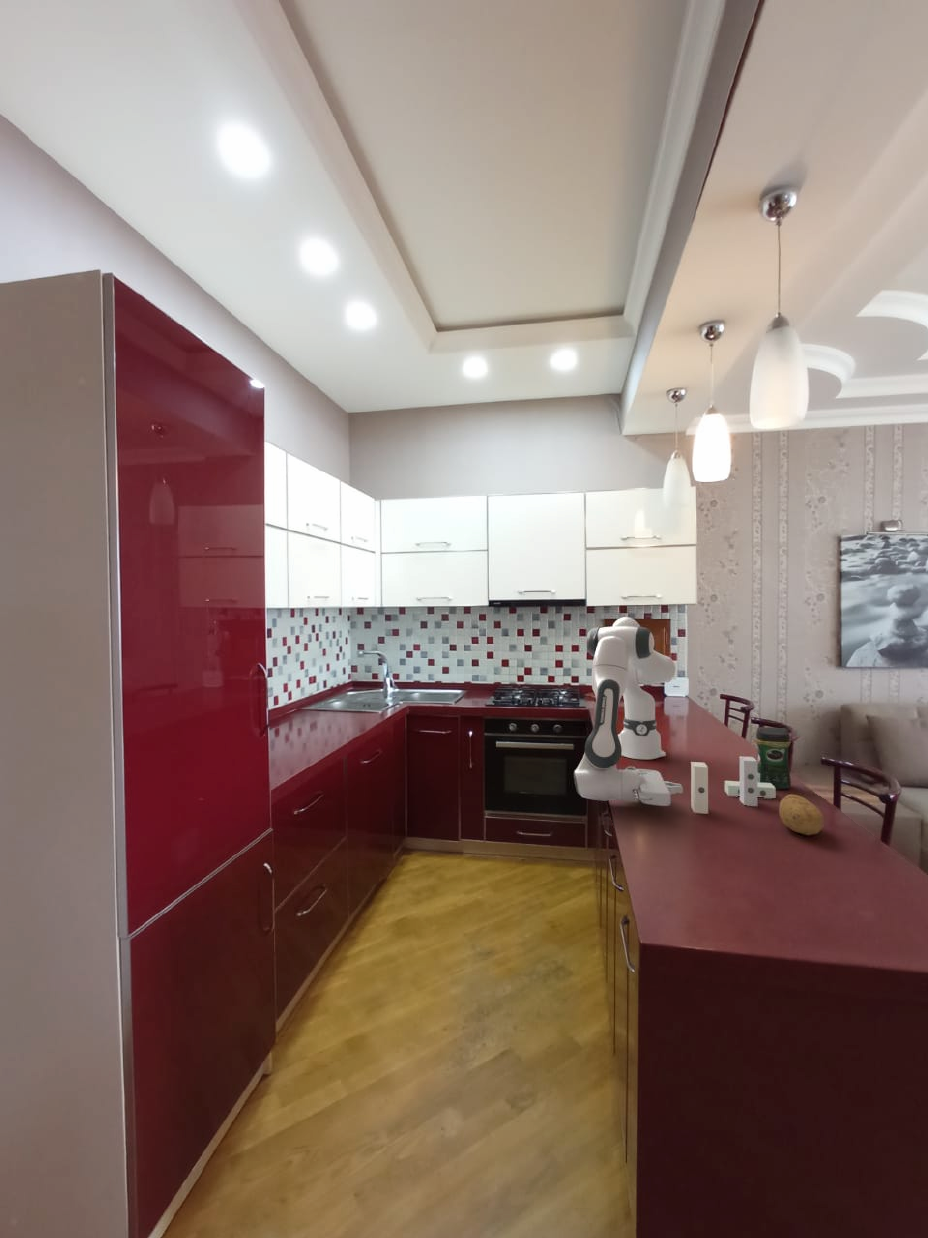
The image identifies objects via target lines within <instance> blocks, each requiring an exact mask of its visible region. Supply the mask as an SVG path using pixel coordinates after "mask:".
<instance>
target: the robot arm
mask: <svg viewBox="0 0 928 1238" xmlns="http://www.w3.org/2000/svg"><path fill="white" fill-rule="evenodd" d="M585 640H586V641H585V642H586V643H585V645H586V649H587V653H589V655H591V657H593V660H592V661H593V662H592V667H591V688H592V691H593V692H594V696H595V702H596V703H595V704H596V705H595V713H594V714H595V715H594V723H593V727H592V731H591V732H590V734H589V736H588V737H587V739H586V740H585V743H584V754H583V756H582V759H581V760H580V762H579V764H578V766H577V767H576V769H575V770H574V771H573V778H574V784H575V788H576V792H577V793H578V795H579V796H581V798H585V799H589V800H594V801H611V800H614V801H618V802H629V803H639V801H641V803H643V804H645V805H650V806H651V805H653V806H661V807H668V806H670V805H671V795H675V794H683V793H684V787H683V786H682V784H681V783H676V782H675V783H674V782H672V781H666V780H664V778H663V776H662V774H661V771H658V770H655V769H648V768H647V769H646V768H636V767H635V766H627V767H626V768H624V769H619V768H617V763H618V762H620V760H621V757H626V758H629V759H633V760H634V759H635V760H654V759H655V760H656V759H658V758H661V757H666V756H667V754H666V752H665V750H663V749H662V743H661V742H662V741H661V740H662V739H661V738H662V737H661V733H659V731H657V719H656V701H655V698H654V697H653V695H652V694H650V693H649V692H647V691H645V690H643V689H642V688H641V687H640V684H642V683H644V684H663V683H664V684H665V683H669V682H671V681H672V679H674V677H675V675H676V665H675V662H674V661H673V659H672V658H671V657H670V656H668V655H664V654H662V653H660V652H658V651H656V649H654V647H655V637H654V635H653V632H652V631H651V630H650V629H649V628H648V627H643V626H641V625H640V624H639V622H637V620H635V619H634V618H633V617H629V616H624V617H620V618H618V619H616V620H615V621H614V622H613V623H612V626H604V627H602V626H597V627H593V628H591V629H590V630H589V631H588V633H587V636H586V639H585ZM639 683H640V684H639ZM622 697H623V705H624V717H623V729H622V730H621V732H620V733H619V734H618V732H617V730H618V729H617V726H618V714H619V713H618V712H619V704H620V701H621V699H622Z"/></svg>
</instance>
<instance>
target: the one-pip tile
mask: <svg viewBox="0 0 928 1238" xmlns="http://www.w3.org/2000/svg"><path fill="white" fill-rule="evenodd" d="M690 764H691V765H690V767H691V768H690V771H691V773H690V777H691V779H690V781H691V782H690V789H691V790H690V792H691V794H690V797H691V798H690V801H691V803H690V807H691V809H692V811H693V813H694V814H705V815H706V814H708V815H709V767H708V765H707V764H706V763H705V762H704V761H703V762H697V761H691V762H690Z"/></svg>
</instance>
